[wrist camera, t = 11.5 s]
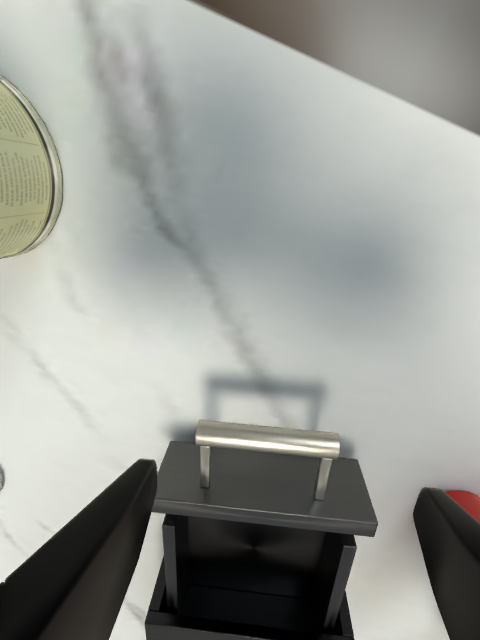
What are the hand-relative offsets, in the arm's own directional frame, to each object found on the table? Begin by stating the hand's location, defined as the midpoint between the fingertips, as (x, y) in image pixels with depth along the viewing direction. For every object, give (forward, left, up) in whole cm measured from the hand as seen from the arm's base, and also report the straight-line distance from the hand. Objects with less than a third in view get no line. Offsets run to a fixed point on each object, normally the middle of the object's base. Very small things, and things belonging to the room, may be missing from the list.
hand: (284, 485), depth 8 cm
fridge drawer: (0, +16, -12) cm, 20 cm away
